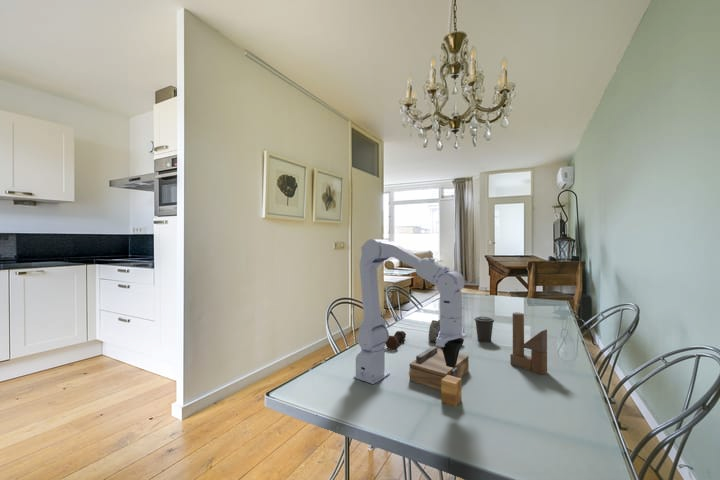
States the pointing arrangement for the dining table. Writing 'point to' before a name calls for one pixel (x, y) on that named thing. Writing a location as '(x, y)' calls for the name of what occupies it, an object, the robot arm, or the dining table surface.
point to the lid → (437, 362)
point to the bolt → (395, 339)
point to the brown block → (451, 390)
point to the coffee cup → (484, 328)
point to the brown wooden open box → (435, 376)
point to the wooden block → (528, 347)
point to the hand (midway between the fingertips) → (450, 366)
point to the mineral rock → (434, 330)
